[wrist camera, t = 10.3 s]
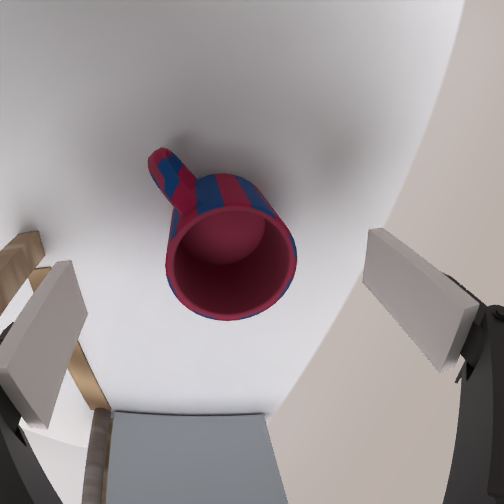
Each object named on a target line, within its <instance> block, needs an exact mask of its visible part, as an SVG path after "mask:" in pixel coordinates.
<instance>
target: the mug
mask: <svg viewBox="0 0 504 504" xmlns="http://www.w3.org/2000/svg"><path fill="white" fill-rule="evenodd" d="M148 169H149V172H150V174H151V176H152V178H153V180H154V181H155V183H156V185H157V186H158V188H159V189H160V190H161V192H162V193H163V194H164V195H165V197H166V198H167V199H168V200H169V202H170V203H171V204H172V205H173V206H174V210H173V214H172V220H171V226H170V233H169V240H168V247H167V254H166V263H165V267H166V276H167V279H168V283H169V286H170V288H171V289H172V291H173V293H174V295H175V296H176V297H177V298H178V300H179V301H180V302H181V303H182V304H183V305H184V306H186V307H187V308H188V309H189V310H191V311H193V312H194V313H196V314H198V315H201V316H203V317H206V318H210V319H214V320H222V321H232V320H241V319H245V318H249V317H252V316H255V315H257V314H259V313H261V312H263V311H265V310H267V309H268V308H270V307H271V306H272V305H274V304H275V303H276V302H277V301H278V300H279V299H280V298H281V297H282V296H283V295H284V293H285V292H286V291H287V289H288V288H289V286H290V284H291V282H292V280H293V278H294V274H295V271H296V265H297V250H296V246H295V242H294V239H293V237H292V235H291V233H290V231H289V229H288V228H287V227H286V225H285V224H284V223H283V221H282V220H281V219H280V217H279V216H278V215H277V213H276V212H275V211H274V209H273V208H272V207H271V206H270V204H269V203H268V202H267V200H266V199H265V198H264V196H263V195H262V194H261V193H260V191H259V190H258V189H257V188H256V187H255V186H254V185H253V184H252V183H250V182H249V181H247V180H245V179H243V178H241V177H238V176H235V175H230V174H214V175H208V176H205V177H203V178H200V179H198V180H197V179H196V177H195V176H194V175H193V174H192V173H191V172H190V171H189V170H188V169H187V167H186V166H185V165H184V164H183V163H182V162H181V160H180V159H179V158H178V157H177V156H176V155H175V154H174V153H172V152H171V151H170V150H168V149H166V148H162V147H161V148H159V149H158V150H156V151H154V152H153V153H152V154H151V156H150V157H149V158H148Z"/></svg>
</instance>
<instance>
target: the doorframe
mask: <svg viewBox="0 0 504 504" xmlns="http://www.w3.org/2000/svg"><path fill="white" fill-rule="evenodd" d="M44 256H45V254H44V250H43V247H42V243H41V240H40V236H39V232H38V231H35V232H29V233H23V234H18V235H17V236H16V237H15V238H14V239H13V240H12V241H10V242H9V243H8V244H7V245H6V246H5V247H4V248H3V249H2V250H1V251H0V316H1V314H2V313H3V311H4V310H5V308H6V307H7V305H8V304H9V303H10V301H11V300H12V298H13V297H14V295H15V294H16V293H17V291H18V290H19V289H20V287H21V286H22V285H23V283H24V282H25V280H26V279H27V278H29V281H30V284H31V287H32V289H33V292H35V291H36V289H37V288H38V287H39V285H40V284H41V282H42V281H43V280H44V278H45V277H46V275H47V274H48V273H49V271H50V270H51V267H46V268H37V269H35V267H36V266H37V265H38V264H39V262H40V261H41V260H42V259H43V257H44ZM67 368H68V370H69V372H70V374H71V376H72V378H73V380H74V381H75V383H76V385H77V387H78V389H79V390H80V392H81V394H82V396H83V397H84V399H85V401H86V403H87V404H88V406H89V408H90V409H91V410H94V416H93V421H92V427H91V433H90V439H89V446H88V453H87V460H86V467H85V475H84V485H83V494H82V504H106V496H107V480H108V467H109V456H110V446H111V437H112V429H113V421H114V419H110V414H111V412H110V410H111V407H110V406H109V404H108V402H107V400H106V398H105V396H104V394H103V392H102V391H101V389H100V387H99V385H98V383H97V381H96V379H95V377H94V375H93V373H92V370H91V368H90V366H89V364H88V362H87V360H86V358H85V356H84V353H83V351H82V349H81V347H80V344H79V342H78V340H77V342H76V345H75V348H74V350H73V353H72V356H71V359H70V361H69V364H68V367H67Z"/></svg>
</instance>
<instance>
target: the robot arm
mask: <svg viewBox="0 0 504 504" xmlns="http://www.w3.org/2000/svg"><path fill="white" fill-rule="evenodd" d="M362 282H363V283H364V285H365V286H366V287H367V288H368V289H369V290H370V291H371V292H372V294H373V295H374V296H375V297H376V298H377V299H378V300H379V302H380V303H381V304H382V305H383V306H384V307H385V308H386V310H387V311H388V312H389V313H390V314H391V315H392V316H393V318H394V319H395V320H396V321H397V322H398V323H399V325H400V326H401V327H402V328H403V329H404V331H405V332H406V333H407V334H408V335H409V337H410V338H411V339H412V340H413V341H414V342H415V344H416V345H417V346H418V347H419V348H420V350H421V351H422V352H423V353H424V355H425V356H426V357H427V358H428V360H429V361H430V362H431V363H432V365H433V366H434V367H435V368H436V370H437V371H438V372H439V373H441V372H444V371H446V370H449V369H451V368H454V367H455V365H456V363H457V361H458V358H459V356H460V354H461V355H462V356H463V357H464V359H465V362H464V364H463V366H462V368H461V370H460V372H459V374H458V376H457V378H456V381H455V383H458V381H459V379H460V378H462V381H461V382H462V383H461V396H460V408H459V417H458V427H457V434H456V441H455V447H454V453H453V459H452V464H451V470H450V475H449V479H448V484H447V489H446V493H445V497H444V501H443V504H504V307H503V306H500V305H491V306H488V307H487V306H486V305H485V304H484V303H482V302H481V301H480V300H479V299H478V298H477V297H475V296H474V295H473V294H472V293H471V292H469V291H468V290H466V288H465V287H463V286H462V285H460V284H459V283H458V282H457V281H456V280H455V279H453V278H452V277H451V276H449V275H446V274H444V273H442V272H441V271H439V270H438V269H437V268H436V267H434V266H433V265H432V264H430V263H429V262H428V261H427V260H425V259H424V258H423V257H421V256H420V255H419V254H417V253H416V252H415V251H413V250H412V249H411V248H409V247H408V246H407V245H405V244H404V243H403V242H401V241H400V240H399V239H397V238H396V237H395V236H393V235H392V234H390V233H389V232H388V231H386V230H385V229H383V228H377V229H369V232H368V241H367V250H366V258H365V266H364V273H363V281H362ZM87 315H88V312H87V309H86V307H85V304H84V301H83V297H82V294H81V291H80V288H79V285H78V282H77V278H76V275H75V271H74V268H73V264H72V261H71V260H69V261H60V262H56V263H55V265H54V266H53V267H52V269H51V270H50V271H49V273H48V274H47V275H46V277H45V278H44V280H43V281H42V282H41V284H40V285H39V287H38V288H37V289H36V291H35V292H34V294H33V295H32V297H31V298H30V299H29V301H28V302H27V304H26V305H25V307H24V308H23V310H22V311H21V313H20V314H19V316H18V318H17V319H16V321H15V322H12V323H11V324H10V325H9V326H8V327H7V328H6V329H5V330H3V332H2V334H1V335H0V504H63V503H62V501H61V500H60V498H59V497H58V495H57V493H56V492H55V490H54V488H53V487H52V485H51V483H50V482H49V480H48V479H47V476H46V475H45V473H44V471H43V469H42V467H41V466H40V464H39V462H38V460H37V458H36V456H35V454H34V452H33V450H32V448H31V446H30V444H29V442H28V440H27V438H26V436H25V434H24V431H23V430H22V429H21V427H20V426H19V425H18V424H19V421H20V418H21V416H22V418H23V419H24V420H25V422H26V423H27V424H28V426H29V427H32V428H40V429H48V427H49V423H50V420H51V416H52V413H53V410H54V406H55V403H56V400H57V397H58V394H59V390H60V387H61V384H62V381H63V378H64V375H65V373H66V370H67V367H68V364H69V361H70V359H71V356H72V353H73V350H74V348H75V345H76V342H77V340H78V337H79V335H80V332H81V330H82V327H83V325H84V322H85V320H86V317H87Z"/></svg>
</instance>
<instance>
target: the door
mask: <svg viewBox="0 0 504 504" xmlns="http://www.w3.org/2000/svg"><path fill="white" fill-rule="evenodd" d="M106 504H288V501H287V497H286V494H285V490H284V487H283V483H282V480H281V476H280V473H279V469H278V466H277V462H276V459H275V455H274V451H273V447H272V444H271V440H270V436H269V433H268V429H267V425H266V421H265V418H264V414H261V415H242V416H167V415H148V414H134V413H122V412H115V413H114V421H113V429H112V437H111V446H110V456H109V467H108V480H107V496H106Z"/></svg>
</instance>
